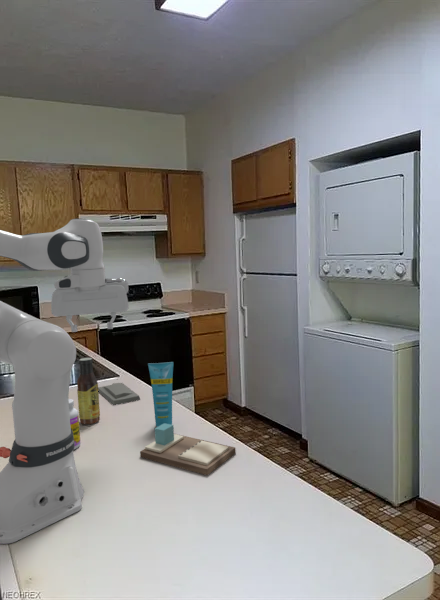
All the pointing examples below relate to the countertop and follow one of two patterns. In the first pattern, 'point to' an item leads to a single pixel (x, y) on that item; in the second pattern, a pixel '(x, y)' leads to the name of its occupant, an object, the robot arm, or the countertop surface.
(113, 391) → the soap mold
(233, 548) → the countertop surface
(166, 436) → the panel
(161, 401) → the tube
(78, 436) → the supplement bottle
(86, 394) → the sauce bottle
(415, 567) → the countertop surface
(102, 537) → the countertop surface
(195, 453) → the board
